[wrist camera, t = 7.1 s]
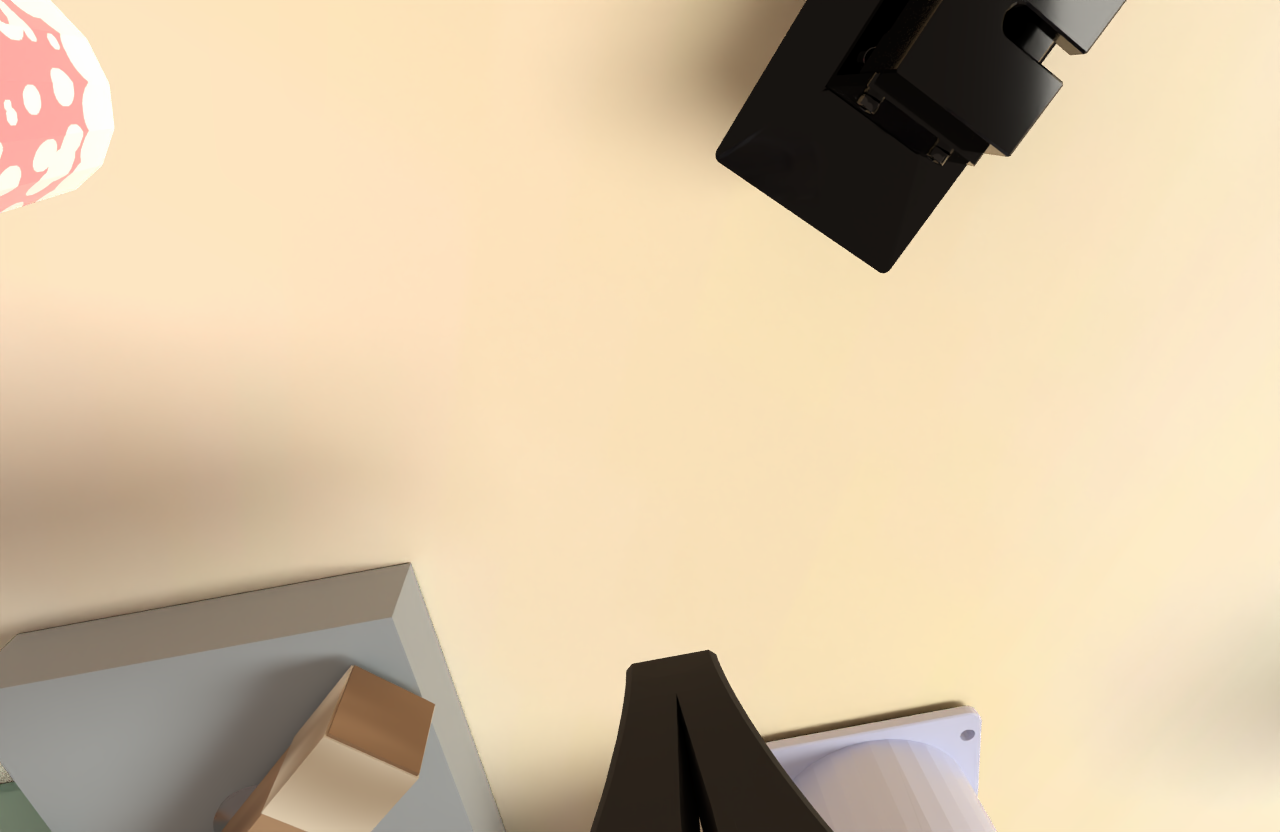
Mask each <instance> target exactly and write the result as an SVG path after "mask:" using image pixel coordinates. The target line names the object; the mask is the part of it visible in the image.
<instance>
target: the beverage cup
mask: <svg viewBox="0 0 1280 832" xmlns="http://www.w3.org/2000/svg"><path fill="white" fill-rule="evenodd" d="M113 131H114V120H113V112H112V103H111V95H110V86H109V82H108V80H107V78H106V76H105V74H104V72H103V70H102V68H101V66H100V64H99V62H98V60H97V58H96V56H95V54H94V52H93V50H92V48H91V46H90V44H89V42H88V40H87V38H86V37H85V36H84V35H83V34H82V33H81V32H80V31H79V30H78V29H77V28H76V27H75V26H74V25H73V24H72V22H71V21H70V20H69V19H68V18H67V17H66V16H65V15H64V14H63V13H62V12H61V11H60V10H59V9H58V8H57V7H56V6H55V5H54V4H53V3H52V1H51V0H0V213H2V212H5V211H8V210H12V209H15V208H18V207H21V206H25V205H28V204H31V203H35V202H38V201H41V200H44V199H48V198H51V197H54V196H57V195H61V194H64V193H67V192H70V191H74V190H76V189H77V188H78V187H79V186H80V185H81V184H82V183H84V182H85V181H86V180H87V179H88V178H89V177H90V176H91V175H92V174H93V173H94V172H95V171H97V170H98V169H99V168H100V167H101V166H102V165H103V162H104V159H105V156H106V153H107V149H108V146H109V143H110V140H111V137H112V134H113Z"/></svg>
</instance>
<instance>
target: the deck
mask: <svg viewBox="0 0 1280 832" xmlns="http://www.w3.org/2000/svg"><path fill="white" fill-rule="evenodd" d="M351 665H352V666H354V665H356V666H358V667H360V668H362V669H364V670H366V671H368V672H370V673H372V674H374V675H376V676H378V677H380V678H382V679H385V680H387V681H389V682H391V683H393V684H395V685H397V686H399V687H401V688H403V689H405V690H407V691H409V692H411V693H413V694H415V695H418V696H420V697H422V698H424V699H426V700H428V701H430V702H432V703H434V704H435V708H434V713H433V717H432V721H431V726H430V730H429V734H428V739H427V743H426V748H425V752H424V756H423V761H422V765H421V770H420V774H419V778H418V780H417V781H416V782H415V783H414V784H413V785H412V787H411V788H410V789H409V790H408V791H407V792H406V793H405V794H404V795H403V797H402V798H401V799H400V800H399V801H398V802H397V803H396V804H395V805H394V807H393V808H392V809H391V810H390V811H389V812H388V813H387V814H386V816H385V817H384V818H383V819H382V820H381V821H380V822H379V823H378V824H377V826H376V827H375V828H374V829H373V830H372V831H371V832H506V831H505V828H504V825H503V822H502V819H501V817H500V814H499V811H498V808H497V805H496V802H495V800H494V797H493V794H492V791H491V788H490V786H489V783H488V780H487V777H486V774H485V771H484V769H483V766H482V763H481V760H480V757H479V754H478V752H477V749H476V746H475V743H474V740H473V737H472V735H471V732H470V729H469V726H468V723H467V720H466V718H465V715H464V712H463V709H462V706H461V703H460V701H459V698H458V695H457V692H456V689H455V686H454V684H453V681H452V678H451V675H450V672H449V669H448V667H447V664H446V661H445V658H444V655H443V652H442V650H441V647H440V644H439V641H438V638H437V635H436V633H435V630H434V627H433V624H432V621H431V618H430V616H429V613H428V610H427V607H426V604H425V601H424V599H423V596H422V593H421V590H420V587H419V584H418V582H417V579H416V576H415V573H414V570H413V567H412V565H411V563H407V564H402V565H396V566H391V567H385V568H380V569H374V570H369V571H363V572H358V573H352V574H347V575H341V576H336V577H330V578H325V579H319V580H314V581H308V582H303V583H297V584H292V585H286V586H281V587H275V588H270V589H264V590H259V591H253V592H248V593H242V594H237V595H231V596H226V597H220V598H215V599H209V600H204V601H198V602H193V603H187V604H182V605H176V606H171V607H165V608H160V609H154V610H149V611H143V612H138V613H132V614H127V615H121V616H116V617H110V618H105V619H99V620H94V621H88V622H83V623H77V624H72V625H66V626H61V627H55V628H50V629H44V630H39V631H33V632H28V633H22V634H17V635H16V636H15V637H14V638H13V639H12V640H11V641H10V642H9V643H8V644H7V645H6V646H5V647H4V648H3V649H2V650H1V651H0V763H1V764H2V765H3V767H4V768H5V769H6V771H7V772H8V773H9V775H10V776H11V777H12V779H13V780H14V781H15V783H16V784H17V785H18V787H19V788H20V790H21V791H22V792H23V794H24V795H25V796H26V798H27V799H28V800H29V802H30V803H31V804H32V806H33V807H34V808H35V810H36V811H37V812H38V814H39V815H40V816H41V818H42V819H43V820H44V822H45V823H46V825H47V826H48V827H49V829H50V830H51V831H52V832H214V829H213V821H214V817H215V814H216V812H217V810H218V808H219V806H220V805H221V803H222V802H223V801H224V799H226V798H227V797H228V796H229V795H231V794H232V793H234V792H236V791H238V790H240V789H242V788H245V787H249V786H253V785H259V784H260V782H261V781H262V780H263V779H264V777H265V776H266V775H267V774H268V772H269V771H270V770H271V769H272V767H273V766H274V765H275V764H276V762H277V761H278V760H279V759H280V757H281V756H282V755H283V754H284V752H285V751H286V750H287V749H288V747H289V746H290V745H291V743H292V741H293V739H294V736H295V735H296V734H297V733H298V731H299V730H300V729H301V728H302V726H303V725H304V724H305V723H306V721H307V720H308V719H309V718H310V716H311V715H312V714H313V713H314V711H315V710H316V709H317V708H318V706H319V705H320V704H321V703H322V701H323V700H324V699H325V698H326V696H327V695H328V694H329V693H330V691H331V690H332V689H333V688H334V687H335V685H336V684H337V683H338V682H339V680H340V679H341V678H342V677H343V675H344V674H345V673H346V672H347V670H348V669H349V668H350V667H351Z"/></svg>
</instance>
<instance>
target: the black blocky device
mask: <svg viewBox="0 0 1280 832" xmlns="http://www.w3.org/2000/svg"><path fill="white" fill-rule="evenodd" d="M1125 1H1126V0H807V1H806V2H805V4H804V6H803V7H802V9H801V11H800V12H799V14H798V16H797V17H796V19H795V21H794V22H793V24H792V26H791V27H790V29H789V31H788V32H787V34H786V36H785V37H784V39H783V41H782V42H781V44H780V46H779V47H778V49H777V51H776V52H775V54H774V56H773V57H772V59H771V61H770V62H769V64H768V66H767V67H766V69H765V71H764V72H763V74H762V76H761V77H760V79H759V81H758V82H757V84H756V86H755V87H754V89H753V91H752V92H751V94H750V96H749V97H748V99H747V101H746V102H745V104H744V106H743V107H742V109H741V111H740V112H739V114H738V116H737V117H736V119H735V121H734V122H733V124H732V126H731V127H730V129H729V131H728V132H727V134H726V136H725V137H724V139H723V141H722V142H721V144H720V146H719V147H718V149H717V151H716V159H717V161H718V162H719V163H721V164H722V165H724V166H725V167H727V168H728V169H730V170H731V171H732V172H734V173H735V174H737V175H738V176H740V177H741V178H743V179H744V180H746V181H747V182H749V183H750V184H751V185H753V186H754V187H756V188H757V189H759V190H760V191H762V192H763V193H765V194H766V195H767V196H769V197H770V198H772V199H773V200H775V201H776V202H778V203H779V204H781V205H782V206H784V207H785V208H786V209H788V210H789V211H791V212H792V213H794V214H795V215H797V216H798V217H800V218H801V219H802V220H804V221H805V222H807V223H808V224H810V225H811V226H813V227H814V228H816V229H817V230H819V231H820V232H821V233H823V234H824V235H826V236H827V237H829V238H830V239H832V240H833V241H835V242H836V243H838V244H839V245H840V246H842V247H843V248H845V249H846V250H848V251H849V252H851V253H852V254H854V255H855V256H856V257H858V258H859V259H861V260H862V261H864V262H865V263H867V264H868V265H870V266H871V267H873V268H874V269H875V270H877V271H878V272H880V273H886V272H888V271H889V270H890V269H891V268H892V266H893V265H894V264H895V262H896V261H897V259H898V258H899V257H900V255H901V254H902V253H903V251H904V250H905V249H906V247H907V246H908V244H909V243H910V242H911V240H912V239H913V238H914V236H915V235H916V234H917V232H918V231H919V229H920V228H921V227H922V225H923V224H924V223H925V221H926V220H927V219H928V217H929V216H930V215H931V213H932V212H933V210H934V209H935V208H936V206H937V205H938V204H939V202H940V201H941V200H942V198H943V197H944V195H945V194H946V193H947V191H948V190H949V189H950V187H951V186H952V185H953V183H954V182H955V180H956V179H957V178H958V176H959V175H960V174H961V172H962V171H963V170H964V168H965V167H966V166H967V165H970V166H975V165H976V163H977V162H978V161H979V159H980V158H981V157H982V155H983V153H985V154H991V155H998V156H1005V157H1008V156H1011V154H1012V153H1013V152H1014V150H1015V149H1016V148H1017V146H1018V145H1019V144H1020V142H1021V141H1022V139H1023V138H1024V137H1025V135H1026V134H1027V133H1028V131H1029V130H1030V129H1031V127H1032V126H1033V125H1034V123H1035V122H1036V121H1037V119H1038V118H1039V117H1040V115H1041V114H1042V113H1043V111H1044V110H1045V109H1046V107H1047V106H1048V105H1049V103H1050V102H1051V101H1052V99H1053V98H1054V97H1055V95H1056V94H1057V93H1058V91H1059V90H1060V89H1061V87H1062V86H1063V82H1062V81H1061V80H1060V79H1059V78H1057V77H1056V76H1055V75H1054V74H1053V73H1051V72H1050V71H1049V70H1048V69H1047V68H1045V67H1044V66H1043V65H1042V64H1041V63H1042V62H1043V61H1044V59H1045V58H1046V57H1047V55H1048V54H1049V53H1050V51H1051V50H1052V48H1053V47H1054V46H1055V44H1058V45H1059V46H1060V47H1061V48H1062V49H1063V50H1065V51H1066V52H1067V53H1068V54H1069V55H1078V54H1086V53H1087V52H1088V51H1089V50H1090V48H1091V47H1092V46H1093V44H1094V43H1095V42H1096V40H1097V39H1098V38H1099V36H1100V35H1101V34H1102V32H1103V31H1104V30H1105V28H1106V27H1107V26H1108V24H1109V23H1110V22H1111V20H1112V19H1113V18H1114V16H1115V15H1116V14H1117V12H1118V11H1119V10H1120V8H1121V7H1122V5H1123V4H1124V3H1125Z"/></svg>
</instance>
